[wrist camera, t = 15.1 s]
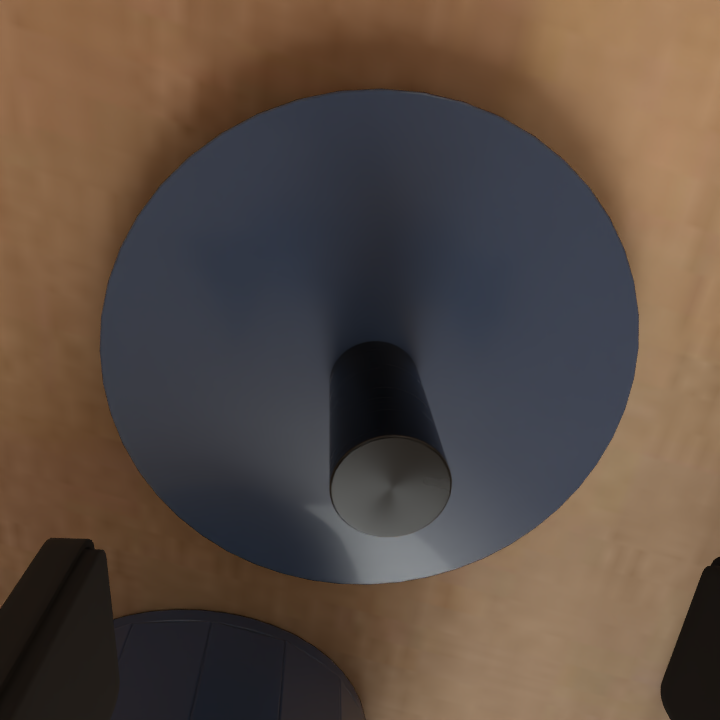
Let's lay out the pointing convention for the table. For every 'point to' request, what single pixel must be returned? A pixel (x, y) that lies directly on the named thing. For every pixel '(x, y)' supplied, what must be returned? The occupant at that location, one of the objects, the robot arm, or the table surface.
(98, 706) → the robot arm
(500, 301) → the lid
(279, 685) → the pot
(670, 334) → the table surface
